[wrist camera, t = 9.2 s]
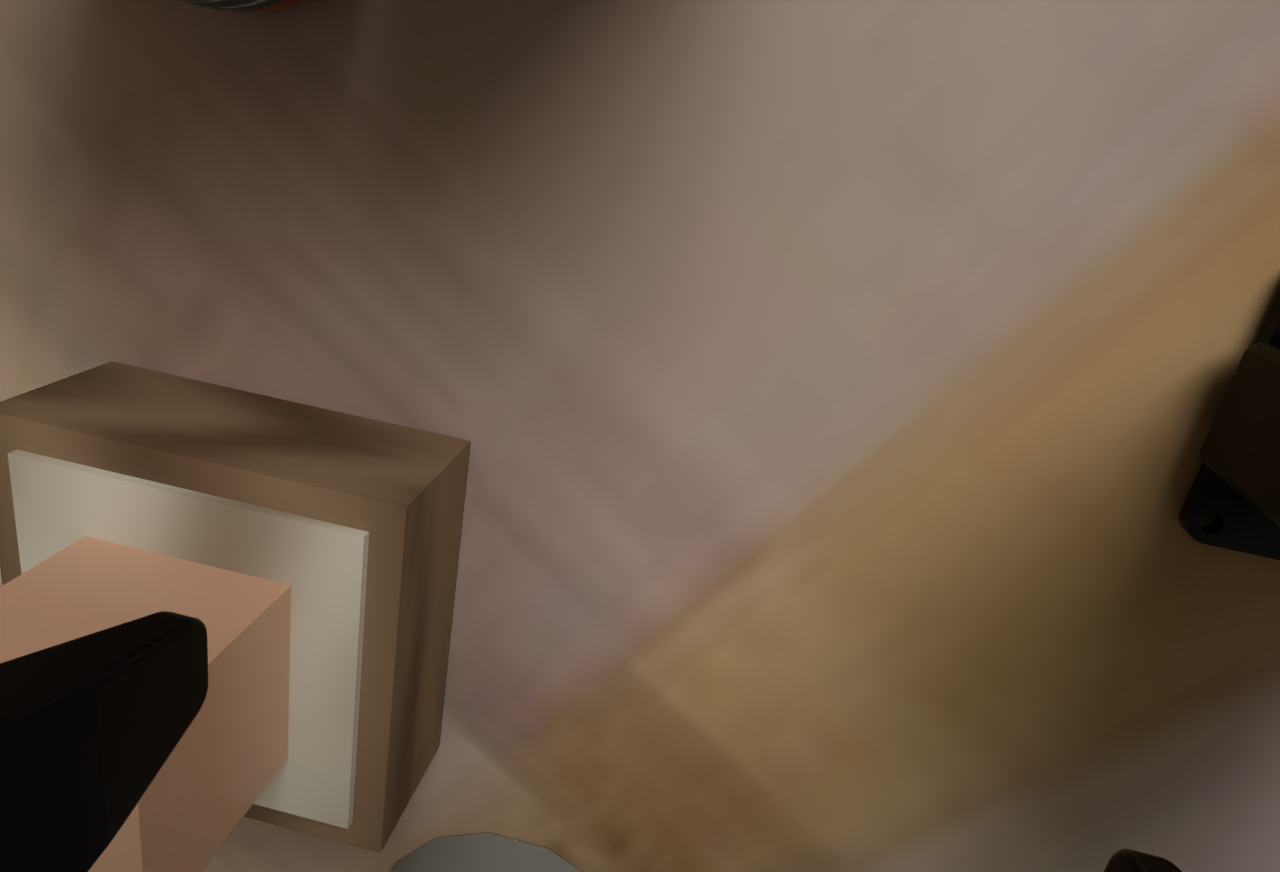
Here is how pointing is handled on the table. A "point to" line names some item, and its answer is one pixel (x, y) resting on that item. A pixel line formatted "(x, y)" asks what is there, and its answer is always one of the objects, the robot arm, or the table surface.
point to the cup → (481, 856)
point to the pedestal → (270, 555)
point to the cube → (234, 705)
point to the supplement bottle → (245, 4)
